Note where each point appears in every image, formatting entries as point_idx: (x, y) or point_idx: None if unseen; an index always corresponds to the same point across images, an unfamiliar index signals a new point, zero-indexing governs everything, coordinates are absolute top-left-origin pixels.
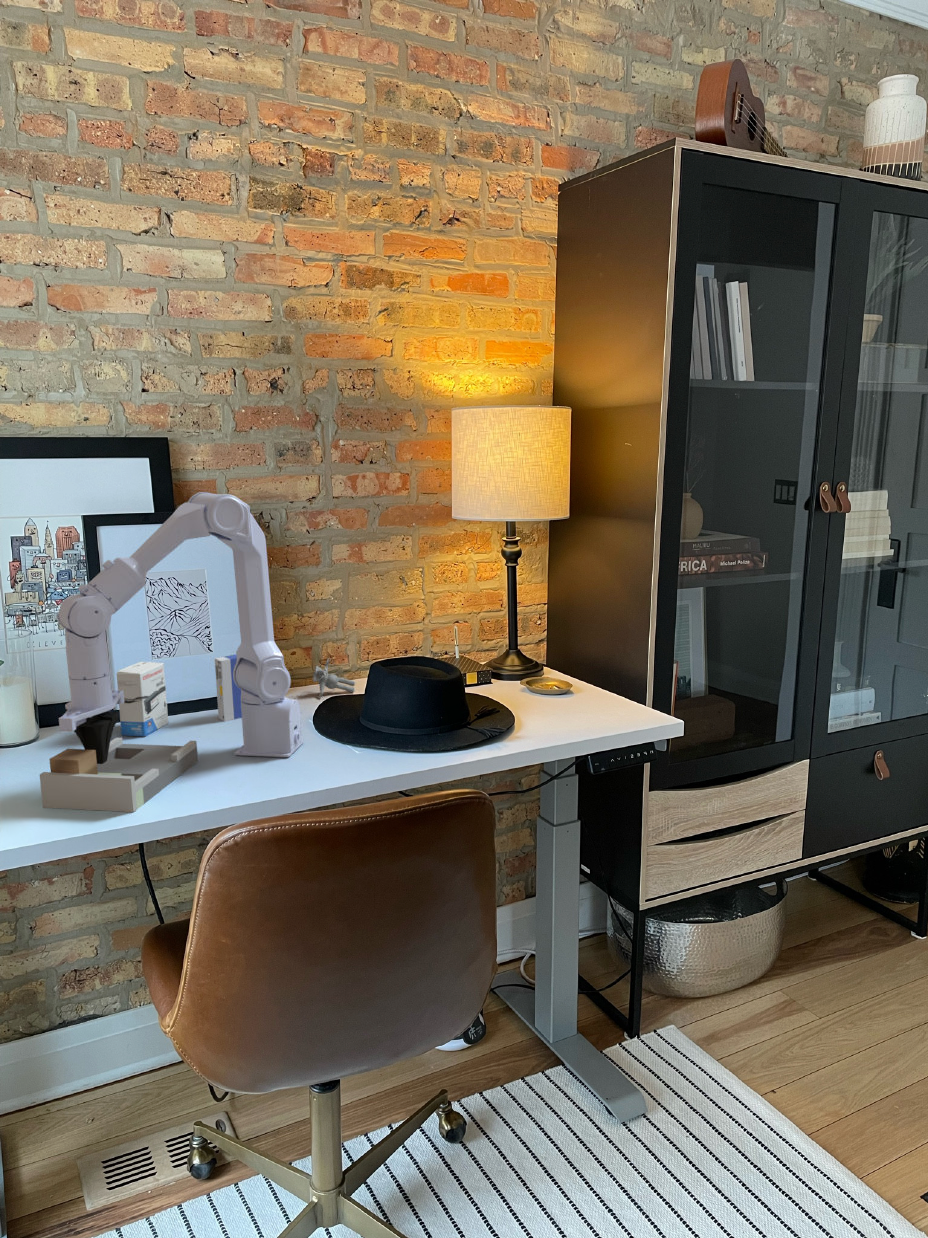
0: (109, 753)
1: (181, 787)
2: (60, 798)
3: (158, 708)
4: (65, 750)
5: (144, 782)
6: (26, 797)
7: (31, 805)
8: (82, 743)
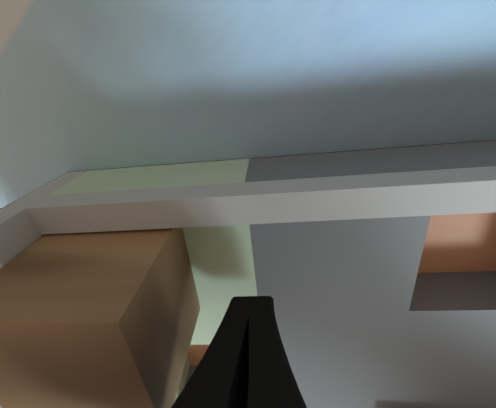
0: None
1: None
2: None
3: None
4: (84, 328)
5: None
6: (101, 34)
7: (60, 118)
8: (179, 397)
